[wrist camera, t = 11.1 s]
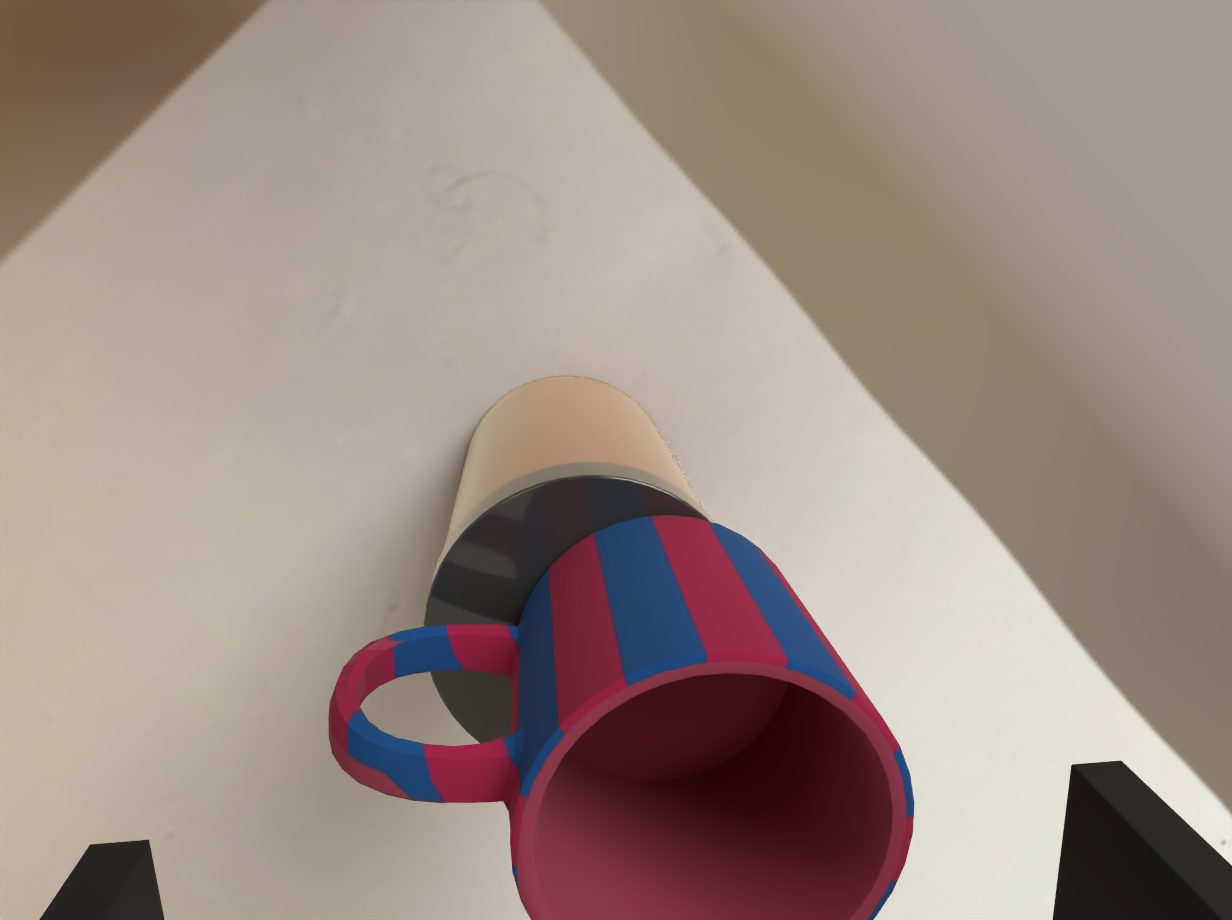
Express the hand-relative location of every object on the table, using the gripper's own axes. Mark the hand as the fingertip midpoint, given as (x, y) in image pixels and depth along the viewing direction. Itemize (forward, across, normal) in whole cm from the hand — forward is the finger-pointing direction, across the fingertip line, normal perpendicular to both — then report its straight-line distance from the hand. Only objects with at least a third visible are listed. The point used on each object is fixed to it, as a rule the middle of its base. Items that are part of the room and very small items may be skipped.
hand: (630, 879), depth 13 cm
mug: (+9, 0, 0) cm, 9 cm away
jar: (+22, 0, 0) cm, 22 cm away
